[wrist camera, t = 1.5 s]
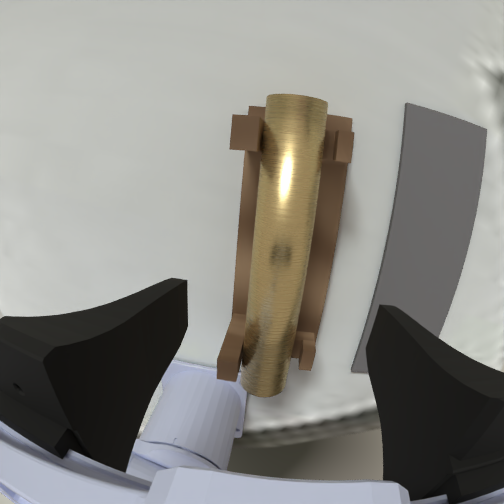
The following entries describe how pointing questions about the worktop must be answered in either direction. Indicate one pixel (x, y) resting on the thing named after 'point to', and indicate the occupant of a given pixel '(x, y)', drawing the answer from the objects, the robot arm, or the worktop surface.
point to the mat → (429, 219)
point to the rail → (281, 237)
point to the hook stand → (322, 246)
